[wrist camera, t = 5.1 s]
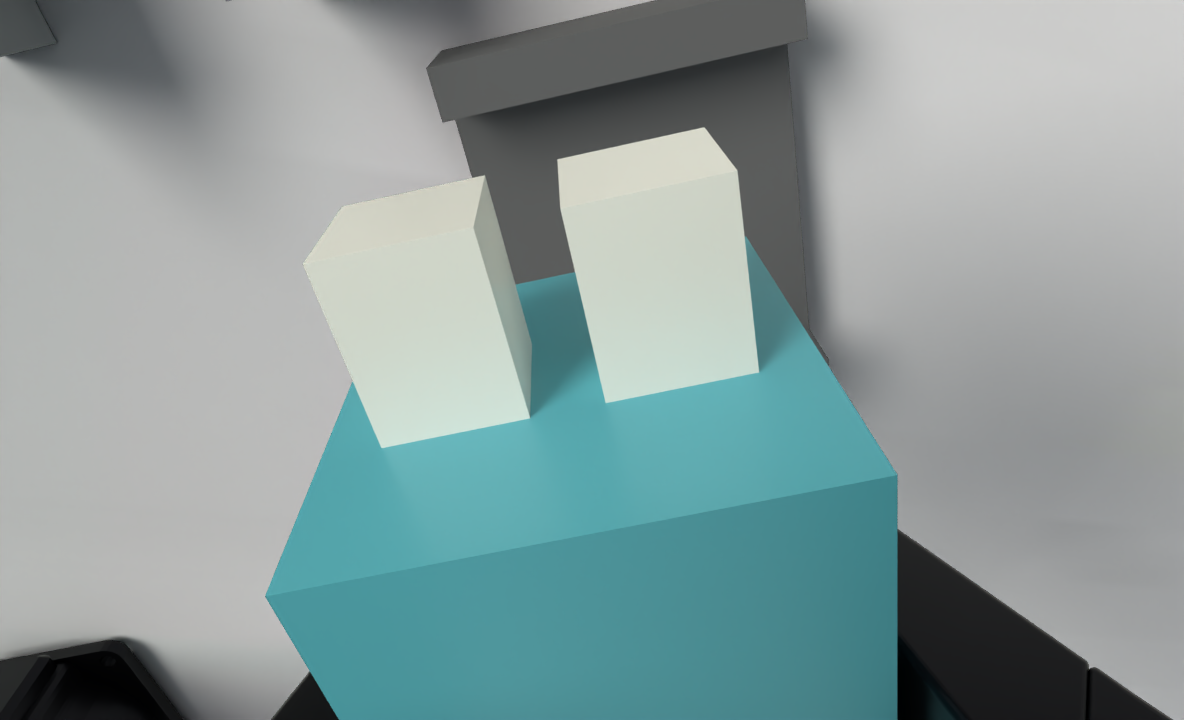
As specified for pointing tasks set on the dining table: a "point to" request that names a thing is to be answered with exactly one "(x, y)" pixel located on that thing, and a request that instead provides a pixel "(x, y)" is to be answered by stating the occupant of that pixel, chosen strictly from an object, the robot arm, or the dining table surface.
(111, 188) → the dining table surface
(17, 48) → the socket
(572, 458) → the plug
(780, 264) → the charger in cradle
